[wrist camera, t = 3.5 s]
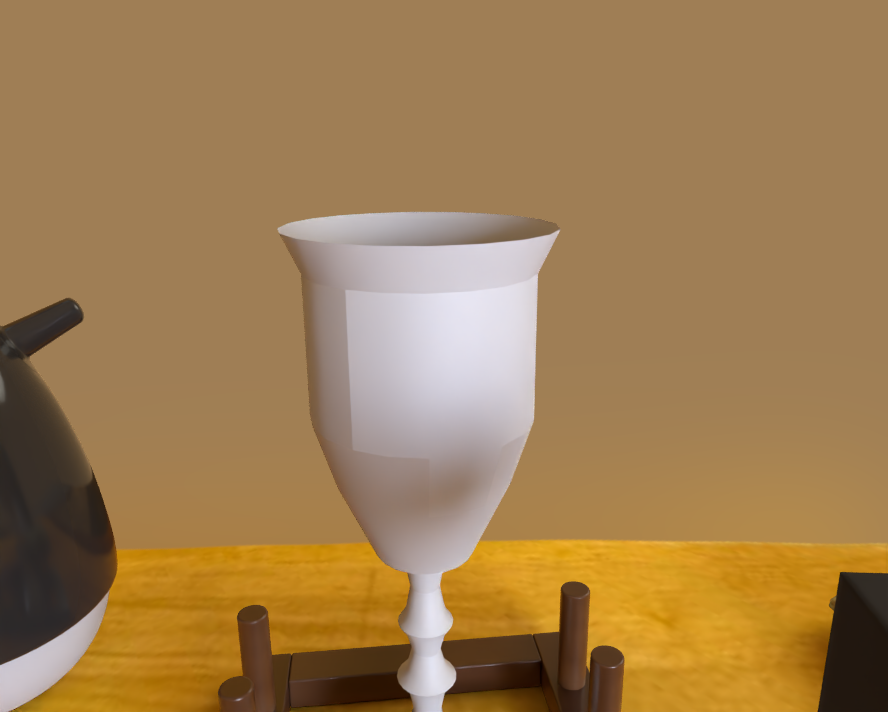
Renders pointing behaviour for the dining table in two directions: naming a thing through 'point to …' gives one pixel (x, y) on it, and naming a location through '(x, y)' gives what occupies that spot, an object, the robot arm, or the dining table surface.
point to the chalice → (421, 388)
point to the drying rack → (475, 660)
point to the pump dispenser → (45, 520)
